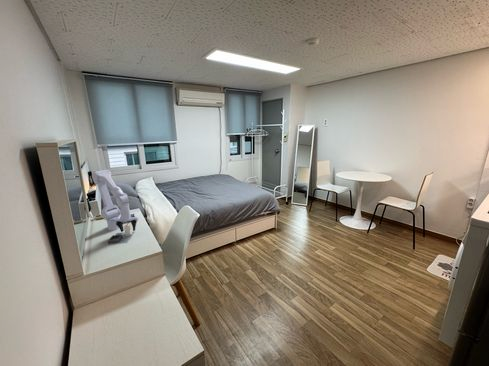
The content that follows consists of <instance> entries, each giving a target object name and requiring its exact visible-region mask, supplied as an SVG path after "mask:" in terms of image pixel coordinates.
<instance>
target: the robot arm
mask: <svg viewBox="0 0 489 366" xmlns="http://www.w3.org/2000/svg"><path fill="white" fill-rule="evenodd" d="M91 178H92V181H93V183H94V184H95V185H97V187H98V191H99V194H100V197H101V200H102V203H103V204H104V205H103V206H104V207H103V208H102V209H101V215H102V218H103V220H105V221H106V224H107V229H108V231H110V232H111V231H112V232H113V231H117V230H120V233H124V232H125V230H124V224H123V222H126V221H132V222H131V228H132V232H136V226H137V222H138V221H139V217H138V216H135V217H131V215H130V214H131V210H130V202H131V198H130V196H129V195H128V194H127V193H126V192H124V191H123V190H122V188H121V187H120V186H117V185H116V183H115V182H114V180H113V178H112V172H111V170H109V169H108V168H107V169H103V170H98V171H97V170H96V171H93V172H92V173H91ZM108 187H109V189H110V192H111V194H112V195H113V196H114V199H115V202H116V204H117V205H116V204H114V203H113V201H112V198H111V195H110V193H109V189H108ZM120 217H121V218H120Z"/></svg>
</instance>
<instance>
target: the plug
mask: <svg viewBox="0 0 489 366" xmlns="http://www.w3.org/2000/svg"><path fill="white" fill-rule="evenodd" d="M123 229H124V232H125V235H126V236H128V235H131V234H132V232H133V227H132V224H131V223H126V224H124V225H123Z"/></svg>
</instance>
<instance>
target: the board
mask: <svg viewBox="0 0 489 366" xmlns="http://www.w3.org/2000/svg"><path fill="white" fill-rule="evenodd" d="M135 233H136V231H132V234H131V235H128V236H126V235H125V231H123V232H116V233H115V235H122V236H123V238H122V239H121V240H120V241H119V243H111V244H108V243H107V244H106V245H119V244H128V242H129V241H130V240H131V239H132V237H133V236H134V234H135ZM117 239H118V238H115V239H113V240H117Z"/></svg>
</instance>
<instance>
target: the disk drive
mask: <svg viewBox="0 0 489 366" xmlns="http://www.w3.org/2000/svg"><path fill="white" fill-rule="evenodd" d="M130 215H131V217H136V216H135V214H134V213H130ZM119 217H120V218H121V216H119ZM131 222H132V221H126V222H123V225H125V224H128V223H131Z"/></svg>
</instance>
